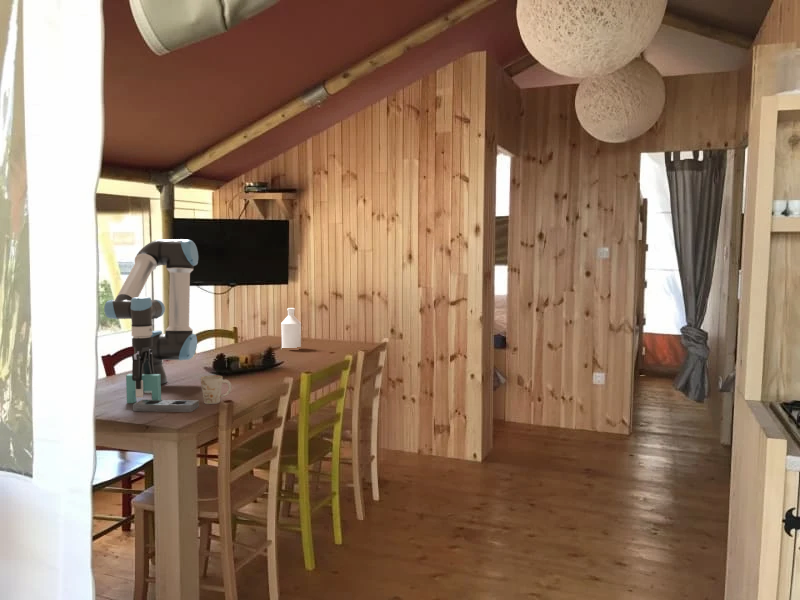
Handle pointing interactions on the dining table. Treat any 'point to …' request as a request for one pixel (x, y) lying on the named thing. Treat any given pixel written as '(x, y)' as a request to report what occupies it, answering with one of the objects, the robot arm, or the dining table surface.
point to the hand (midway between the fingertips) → (143, 394)
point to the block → (166, 405)
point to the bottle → (291, 331)
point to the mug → (213, 388)
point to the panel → (144, 386)
